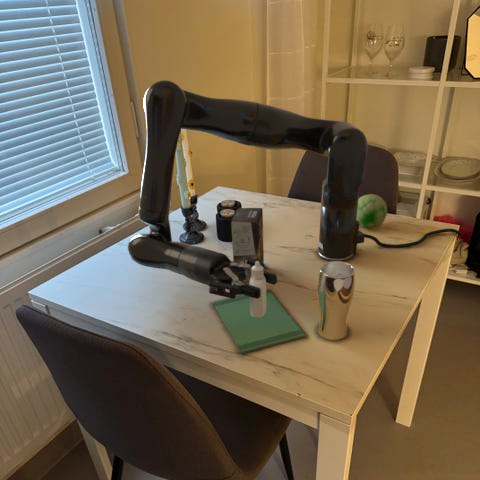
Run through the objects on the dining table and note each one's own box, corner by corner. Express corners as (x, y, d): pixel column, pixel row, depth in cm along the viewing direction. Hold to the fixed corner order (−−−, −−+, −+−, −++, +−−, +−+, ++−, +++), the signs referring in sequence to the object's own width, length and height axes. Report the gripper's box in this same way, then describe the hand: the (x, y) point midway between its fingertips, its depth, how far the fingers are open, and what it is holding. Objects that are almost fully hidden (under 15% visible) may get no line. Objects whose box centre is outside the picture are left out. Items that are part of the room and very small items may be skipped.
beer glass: (312, 323, 100) (315, 261, 91) (344, 320, 100) (350, 258, 91) (319, 343, 94) (323, 279, 85) (353, 339, 94) (360, 276, 86)
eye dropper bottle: (273, 308, 99) (274, 258, 92) (259, 321, 96) (258, 270, 89) (257, 302, 101) (256, 253, 94) (242, 314, 98) (240, 264, 91)
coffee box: (259, 282, 115) (257, 222, 106) (233, 281, 116) (229, 221, 107) (264, 265, 122) (263, 207, 113) (241, 264, 123) (237, 206, 114)
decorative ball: (370, 218, 143) (374, 186, 138) (391, 230, 136) (396, 197, 130) (344, 225, 140) (346, 193, 135) (364, 237, 133) (367, 204, 127)
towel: (268, 290, 112) (268, 288, 111) (304, 336, 96) (305, 334, 96) (213, 303, 108) (212, 301, 108) (241, 353, 93) (241, 351, 92)
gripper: (180, 264, 95) (247, 286, 86) (222, 237, 104) (286, 256, 96) (184, 295, 99) (248, 319, 91) (224, 267, 108) (286, 286, 100)
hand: (267, 286), depth 93 cm, fingers closed on eye dropper bottle, 5 cm apart
